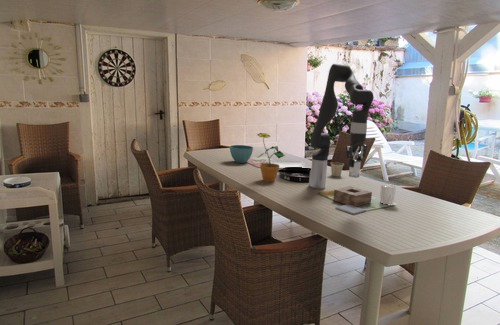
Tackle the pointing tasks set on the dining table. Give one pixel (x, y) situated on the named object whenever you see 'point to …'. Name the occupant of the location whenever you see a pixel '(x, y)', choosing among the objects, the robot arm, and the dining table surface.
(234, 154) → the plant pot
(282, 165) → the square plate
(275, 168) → the potted plant
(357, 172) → the shiny metal cylinder
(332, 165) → the flower pot
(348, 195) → the housing
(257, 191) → the dining table surface
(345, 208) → the mat
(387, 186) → the white cup
